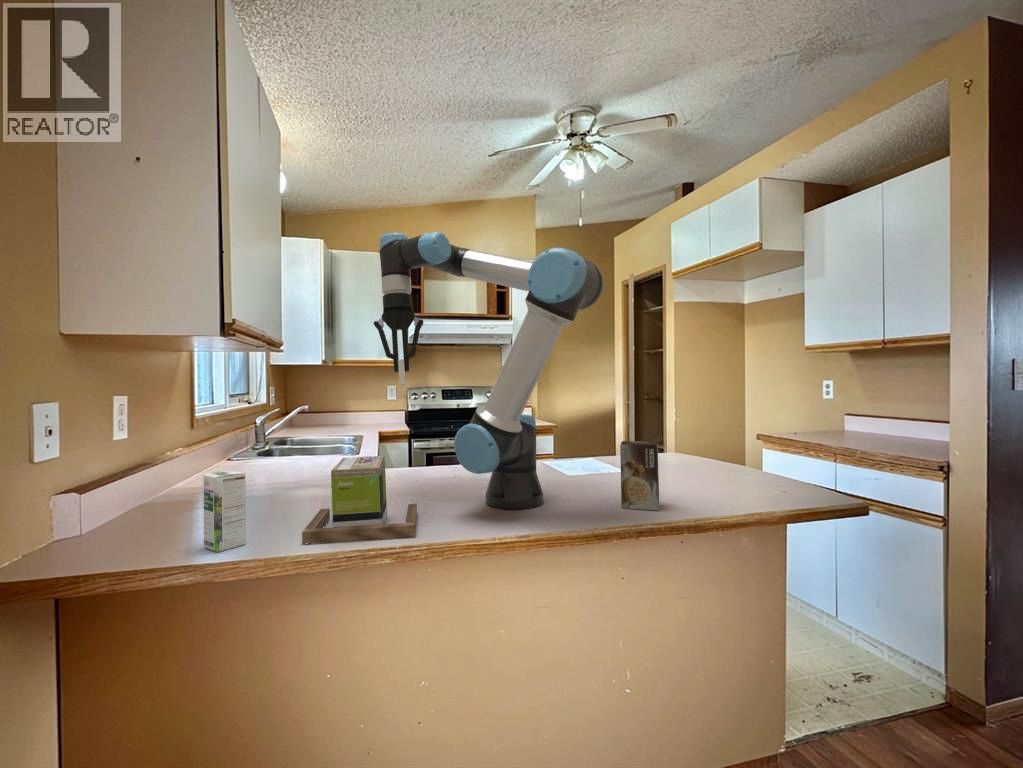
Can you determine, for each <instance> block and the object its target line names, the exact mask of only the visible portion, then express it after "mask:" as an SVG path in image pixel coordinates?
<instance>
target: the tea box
mask: <svg viewBox="0 0 1023 768" xmlns="http://www.w3.org/2000/svg"><path fill="white" fill-rule="evenodd" d="M330 471H331V472H330V481H331V484H330V485H331V509H332V510H331V511H332V512H331V513H332V517H331V518H332V527H349V526H365V525H381V524H386V520H387V516H388V509H387V505H388V504H387V483H386V482H387V481H386V479H387V478H386V477H387V476H386V456H385V455H376V456H375V455H372V456H354V457H343V458H341V459H340V460H339V462H338V463H337V464H336V465H335V466H334V467H332V469H331V470H330Z"/></svg>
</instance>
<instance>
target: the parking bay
mask: <svg viewBox="0 0 1023 768" xmlns="http://www.w3.org/2000/svg"><path fill="white" fill-rule="evenodd" d="M417 510H418V505H417V503H408V505H407V510H406V516H405V522H403V523H402V522H401V523H398V522H397V523H385V524H381V525H365V526H349V527H333V526H332V527H326V526H325V525H327V524H328V523H329V521H330V520H331V511H330V508H320V509H319V510H318V512H317V513H316V514H315V515H314V517H313V518H311V521H310V522H309V523H308V524H307V525H306V526H305V528H304V529H303V531H302V532H301V539H302V541H301V543H302V544H306V543H308V544H306V545H310V544H309V543H321V544H323V543H322V542H337V543H341V542H340V541H352V542H356V541H355V540H367V541H377V540H376V539H382V540H392V539H393V538H397V539H408V538H410V539H411V538H416V531H417V518H418V516H417V515H418V511H417ZM329 519H330V520H329ZM328 520H329V521H328ZM327 522H328V523H327ZM326 523H327V524H326ZM324 526H325V527H324ZM323 527H324V528H323ZM302 544H301V545H302Z"/></svg>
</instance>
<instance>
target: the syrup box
mask: <svg viewBox="0 0 1023 768" xmlns="http://www.w3.org/2000/svg"><path fill="white" fill-rule="evenodd" d="M202 482H203V548H204V549H206V548H207V549H209V550H211V551H213V552H216V553H220V552H223V551H227V550H231V549H235V548H237V547H240V546H244V545H246V544H247V513H246V512H247V511H246V510H247V509H246V508H247V506H246V505H247V503H246V501H247V500H246V499H247V498H246V496H247V494H246V492H247V491H246V488H247V486H246V472H238V471H233V470H222V471H215V472H214V471H213V472H209V473H205V474H203V481H202Z"/></svg>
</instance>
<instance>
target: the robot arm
mask: <svg viewBox="0 0 1023 768" xmlns="http://www.w3.org/2000/svg"><path fill="white" fill-rule="evenodd" d="M378 253H379V254H378V255H379V259H380V261H379V262H380V270H381V272H380V273H381V280H380V281H381V292H382V294H383V295H382V309H383V310H382V315H381V318H379V319H377V320H375V321H373V326H375V328H376V329H377V331H378V334H379V338H380V341H381V343H382V347H383V350H384V354H385V356H386V358H387V359H391V360H392V361H393V370H394V372H395V373H398V379H399V380H398V383H399V384H398V385H399V386H406V384H407V381H406V380H407V379H406V372H409V371H410V359H411V358H414V357H416V353H417V347H418V343H419V342H418V341H419V338H420V337H419V336H420V333H421V332H420V331H421V329H422V327H423V325H424V320H423V319H422V318H421V319H420V318H418V317H416V314H415V312H414V308H413V307H414V306H413V296H412V295H411V294H412V277H411V270H415V269H419V268H425V267H427V268H430V269H434V270H437V271H440V272H443V273H446V274H449V275H452V276H454V277H457V278H468V279H472V280H477V281H481V282H485V283H491V284H494V285H499V286H503V287H507V288H511V289H516V290H521V291H525V292H528V293H527V295H526V297H525V299H524V302H525V304H526V308H527V312H526V315H525V317H524V319H523V322H522V323H521V325H520V327H519V330H518V332H517V334H516V336H515V339H514V341H513V343H512V345H511V347H510V349H509V351H508V354H507V357H506V358H505V360H504V363H503V365H502V367H501V369H500V372H499V374H498V375H497V379H496V381H495V383H494V385H493V388H492V389H491V392H490V394H489V397H488V398H487V401H486V402H485V404H483V405H479V406H478V407H477V408H476V409H475V412H473V413H474V414H473V416H472V418H471V420H470V423H467V424H465V425H463V426H462V427H461V428H460V429H458V431H457V432H456V434H455V436H454V441H453V450H454V453H455V454H456V459H457V461H458V463H459V464H460V465H461V466H462V467H463V468H464V469H465V470H466V471H468V472H470V473H472V474H475V475H476V474H477V475H482V474H489V473H491V475H490V478H489V482H488V485H487V488H486V491H485V504H486V505H487V506H489V507H492V508H497V509H503V510H524V509H531V508H535V507H538V506H540V505H542V504H544V491H543V488H542V486H541V481H540V479H539V477H538V473H537V425H536V423H537V422H536V417H534V416H533V415H531V414H523V412H524V410H525V408H526V406H527V405H528V402H529V400H530V398H531V395H532V393H533V391H534V389H535V387H536V385H537V383H538V381H539V379H540V376H541V374H542V372H543V370H544V368H545V366H546V364H547V362H548V360H549V357H550V355H551V353H552V351H553V349H554V347H555V345H556V342H557V341H558V338H559V336H560V334H561V332H562V331H563V328H564V327H565V326H568V325H569V324H572V323H573V322H574V321H575V319H576V316H577V314H578V312H579V311H584V310H586V309H588V308H591V307H592V306H593V305H595V304H596V303H597V302H598V301H599V299H600V298H601V296H602V294H603V291H604V278H603V274H602V271H601V270H600V269H599V268H598V267H597V265H596V264H594V263H593V262H591V261H590V260H588V259H587V258H585V257H584V256H582V255H581V254H579V253H577V252H576V251H574V250H569V249H567V248H564V247H553V248H549V249H547V250H545V251H542V252H540V254H539V255H537V256H536V257H535V258H534V260H529V259H528V260H526V259H522V258H518V257H517V258H516V257H512V256H507V255H502V254H501V255H500V254H498V253H491V252H490V253H489V252H486V251H480V250H476V249H475V250H474V249H470V248H467V247H460V246H457V245H453V244H451V243H450V239H448V237H446V235H445V233H443V232H441V231H435V232H426V233H424V234H421V235H418V236H414V237H411V238H408V235H406V234H403V233H401V232H392V233H391V232H389V233H388V232H387V233H385V234H383V235H381V236H380V238H379V251H378ZM413 322H414V323H413ZM384 323H385V324H386V326H387V327H388V328H389V329H390V330H391V340H392V352H391V350H390V346H389V343H388V341H387V337H386V334H385V331H384V327H385V324H384ZM412 323H413V324H414V331H413V337H412V343H411V348H410V352H409V343H408V341H409V340H408V329H409V328H410V326H412V325H411V324H412ZM398 331H401V337H402V339H401V340H402V351H403V352H402V353H403V354H402V355H403V359H399V358H400V357H399V344H398Z"/></svg>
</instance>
